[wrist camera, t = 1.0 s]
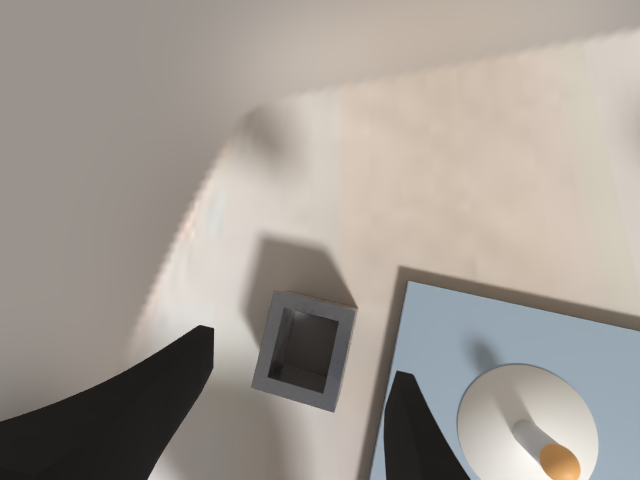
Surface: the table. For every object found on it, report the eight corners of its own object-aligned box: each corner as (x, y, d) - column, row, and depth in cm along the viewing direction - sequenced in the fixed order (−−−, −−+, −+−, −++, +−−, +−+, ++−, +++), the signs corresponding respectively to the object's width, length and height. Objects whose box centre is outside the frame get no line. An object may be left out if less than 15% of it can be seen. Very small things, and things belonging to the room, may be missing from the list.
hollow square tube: (340, 393, 25) (334, 412, 21) (269, 372, 26) (251, 387, 22) (358, 307, 25) (355, 310, 21) (288, 291, 26) (274, 291, 22)
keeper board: (657, 607, 20) (773, 735, 14) (363, 505, 23) (360, 575, 17) (683, 341, 22) (794, 359, 16) (407, 281, 25) (418, 278, 19)
